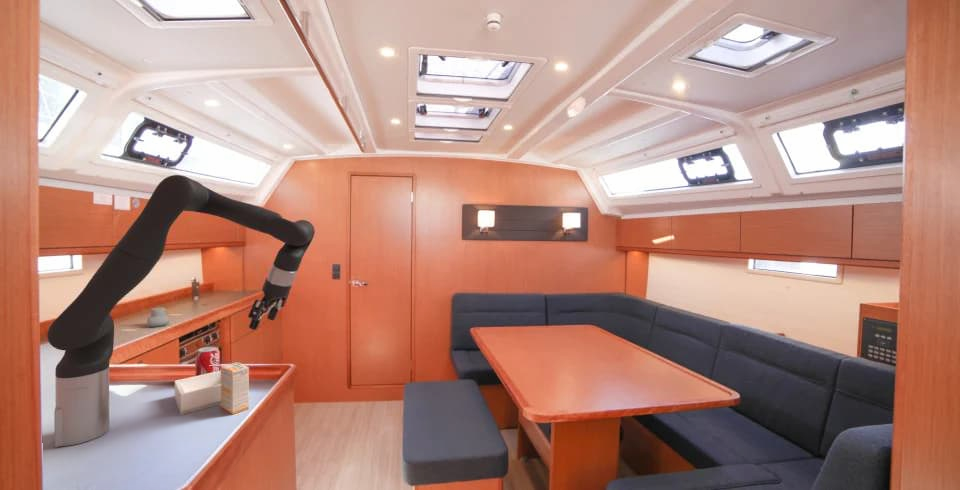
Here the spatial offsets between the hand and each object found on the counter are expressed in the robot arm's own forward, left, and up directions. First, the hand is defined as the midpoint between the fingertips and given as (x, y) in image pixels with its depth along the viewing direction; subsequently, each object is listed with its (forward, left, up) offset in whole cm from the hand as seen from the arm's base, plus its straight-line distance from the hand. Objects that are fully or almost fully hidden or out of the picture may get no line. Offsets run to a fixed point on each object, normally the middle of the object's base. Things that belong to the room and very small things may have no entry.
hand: (261, 323), depth 109 cm
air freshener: (-14, +140, -26) cm, 143 cm away
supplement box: (-7, +2, -26) cm, 27 cm away
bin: (-12, +15, -26) cm, 32 cm away
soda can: (-9, +31, -26) cm, 41 cm away
